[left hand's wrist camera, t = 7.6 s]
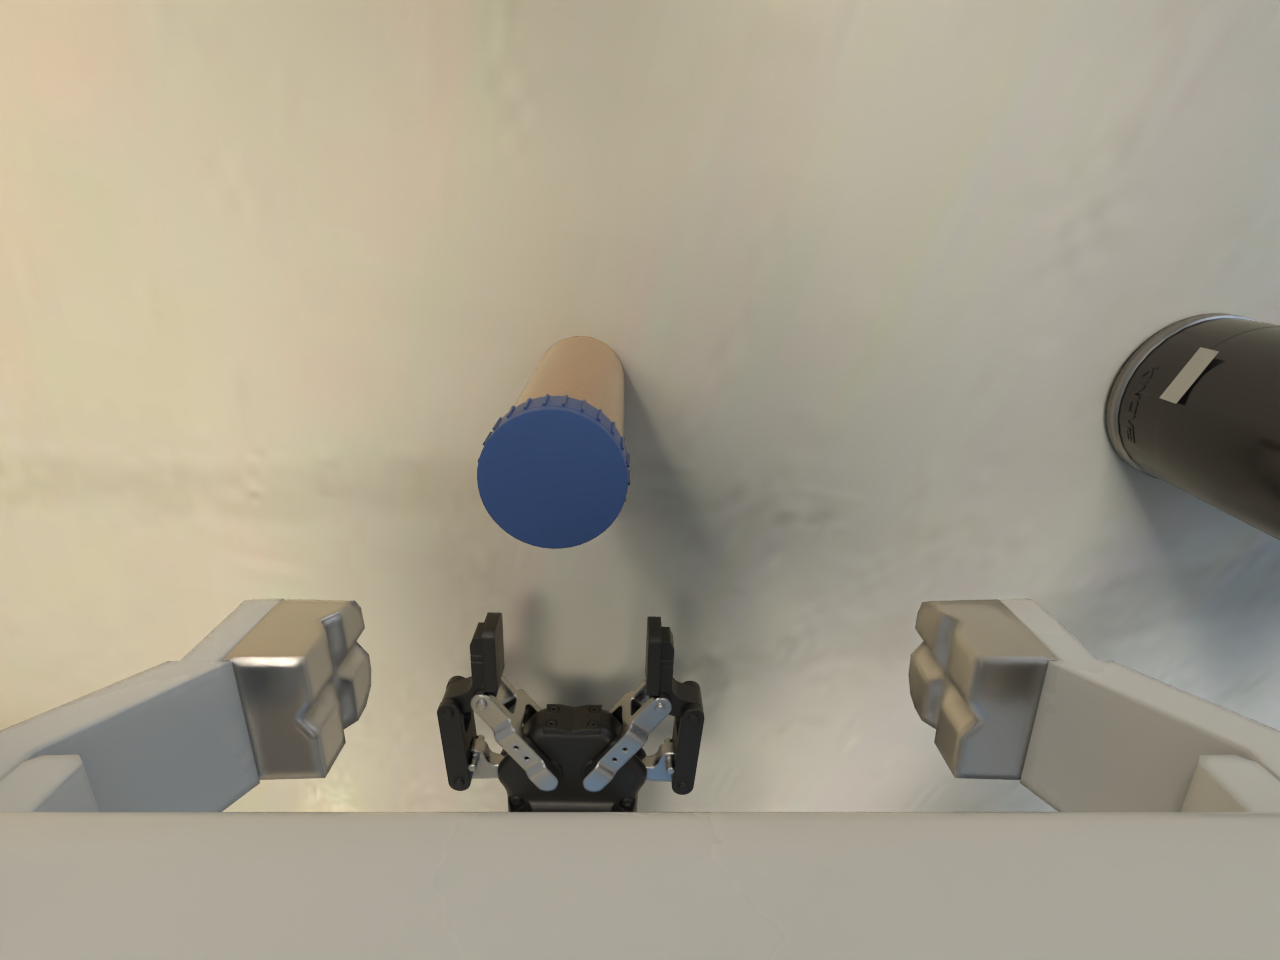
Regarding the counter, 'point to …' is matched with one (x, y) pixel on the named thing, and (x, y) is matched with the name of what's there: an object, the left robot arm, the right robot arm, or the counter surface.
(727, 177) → the counter surface
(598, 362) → the jar
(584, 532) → the lid
